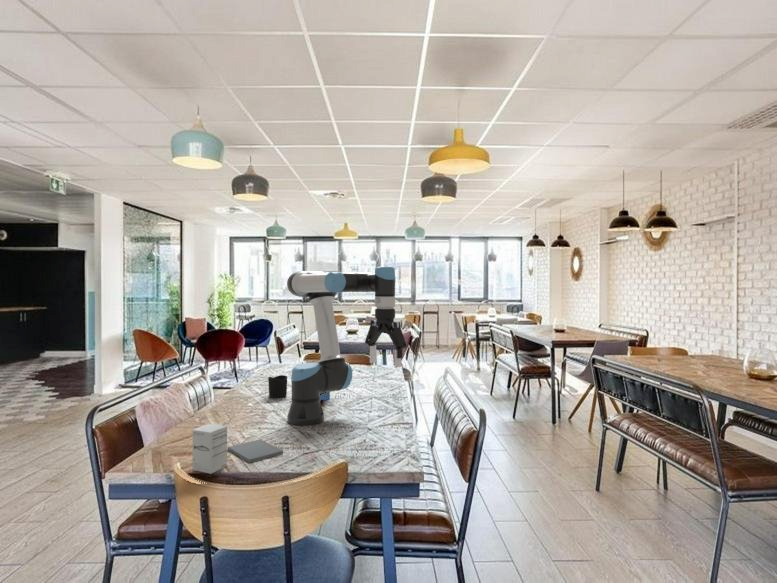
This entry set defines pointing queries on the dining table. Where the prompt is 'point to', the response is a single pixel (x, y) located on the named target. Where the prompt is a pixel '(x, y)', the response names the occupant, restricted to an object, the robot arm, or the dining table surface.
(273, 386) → the pen holder
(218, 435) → the supplement box
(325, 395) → the label tape box
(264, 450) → the slate mat
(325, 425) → the dining table surface
